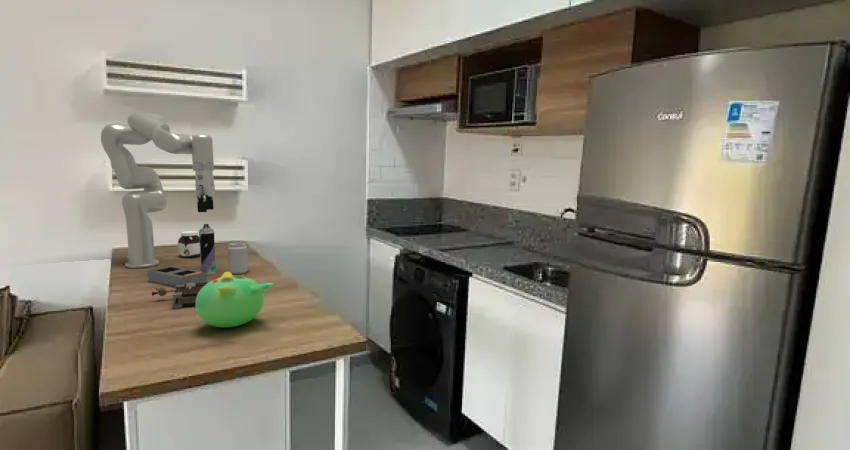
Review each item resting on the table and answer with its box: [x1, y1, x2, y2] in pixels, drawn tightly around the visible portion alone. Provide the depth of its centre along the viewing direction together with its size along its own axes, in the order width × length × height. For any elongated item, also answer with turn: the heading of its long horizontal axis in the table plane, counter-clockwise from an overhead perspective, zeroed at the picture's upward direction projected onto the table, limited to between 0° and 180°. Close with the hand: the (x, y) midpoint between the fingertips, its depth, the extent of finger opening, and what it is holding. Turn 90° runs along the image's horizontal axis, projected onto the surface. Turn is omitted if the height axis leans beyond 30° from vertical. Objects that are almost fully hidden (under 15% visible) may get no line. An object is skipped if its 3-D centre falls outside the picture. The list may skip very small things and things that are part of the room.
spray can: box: [198, 223, 217, 275], centre depth 196 cm, size 6×6×20 cm
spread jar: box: [177, 230, 200, 259], centre depth 230 cm, size 12×11×12 cm
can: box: [226, 242, 249, 275], centre depth 199 cm, size 8×8×12 cm
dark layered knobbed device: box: [151, 281, 210, 309], centre depth 160 cm, size 15×25×5 cm, turn 112°
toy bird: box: [194, 271, 275, 328], centre depth 137 cm, size 18×17×15 cm
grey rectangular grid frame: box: [147, 265, 208, 288], centre depth 183 cm, size 20×10×4 cm, turn 61°
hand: (205, 210), depth 194 cm, fingers open, 9 cm apart
